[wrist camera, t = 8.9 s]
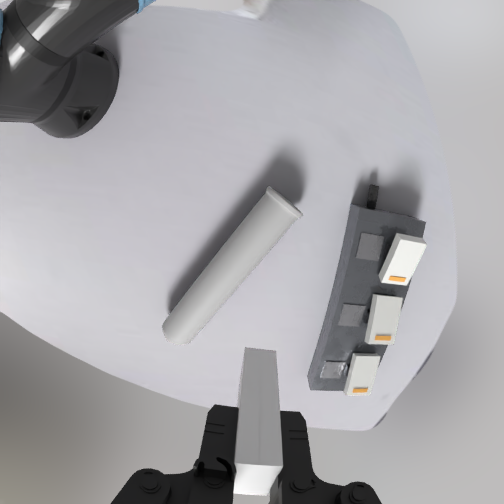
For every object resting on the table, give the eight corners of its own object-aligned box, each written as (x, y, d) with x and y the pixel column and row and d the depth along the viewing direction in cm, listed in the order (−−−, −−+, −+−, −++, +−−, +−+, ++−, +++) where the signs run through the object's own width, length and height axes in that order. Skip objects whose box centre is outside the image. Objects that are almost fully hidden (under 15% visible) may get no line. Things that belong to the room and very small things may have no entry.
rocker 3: (373, 294, 34) (378, 295, 33) (397, 296, 34) (403, 297, 33) (364, 341, 34) (368, 344, 33) (389, 341, 34) (394, 344, 33)
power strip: (354, 181, 34) (365, 183, 30) (417, 196, 34) (432, 200, 30) (307, 375, 43) (310, 392, 39) (361, 377, 43) (368, 392, 39)
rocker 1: (353, 353, 37) (356, 356, 35) (376, 353, 37) (381, 356, 36) (343, 391, 37) (346, 396, 35) (366, 391, 37) (370, 395, 35)
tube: (148, 330, 37) (263, 182, 30) (168, 319, 42) (273, 188, 35) (175, 358, 36) (300, 213, 30) (193, 344, 41) (305, 215, 35)
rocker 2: (396, 232, 30) (401, 239, 29) (422, 238, 30) (427, 245, 29) (378, 275, 34) (381, 283, 32) (403, 278, 34) (407, 286, 32)
